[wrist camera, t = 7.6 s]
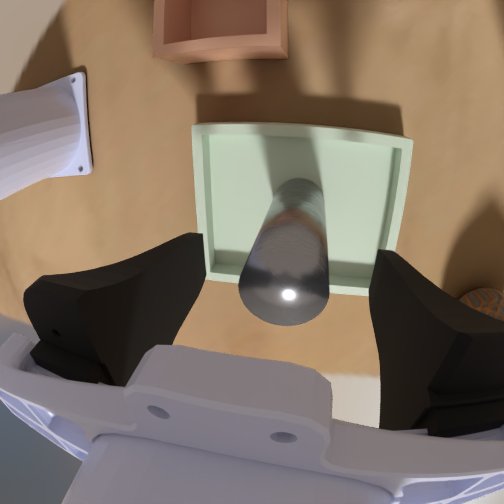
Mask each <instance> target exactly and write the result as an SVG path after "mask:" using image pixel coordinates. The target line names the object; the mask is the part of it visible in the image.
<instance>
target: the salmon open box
mask: <svg viewBox="0 0 504 504" xmlns="http://www.w3.org/2000/svg"><path fill="white" fill-rule="evenodd" d="M153 58H157V59H163V60H168V61H173V62H177V63H182V64H190V63H198V62H208V61H220V60H236V59H288V0H154V14H153Z"/></svg>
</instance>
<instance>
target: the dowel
mask: <svg viewBox="0 0 504 504" xmlns="http://www.w3.org/2000/svg"><path fill="white" fill-rule="evenodd" d="M238 286H239V294H240V297H241V299H242V301H243V303H244V305H245V306H246V307H247V308H248V310H249V311H250V312H251V313H253V314H254V315H255V316H257V317H258V318H260V319H262V320H263V321H266V322H268V323H271V324H275V325H281V326H293V325H299V324H303V323H306V322H308V321H310V320H312V319H313V318H315V317H316V316H317V315H319V314H320V313H321V312H322V310H323V309H324V308H325V306H326V304H327V302H328V299H329V293H330V289H329V262H328V243H327V227H326V213H325V201H324V196H323V193H322V191H321V189H320V188H319V187H318V186H317V185H316V184H315V183H314V182H312V181H310V180H308V179H304V178H293V179H290V180H287V181H285V182H284V183H283V184H282V185H280V187H279V188H278V189H277V191H276V193H275V196H274V198H273V200H272V203H271V205H270V207H269V210H268V212H267V214H266V217H265V219H264V221H263V224H262V226H261V228H260V230H259V233H258V235H257V237H256V240H255V242H254V244H253V247H252V249H251V251H250V254H249V256H248V258H247V261H246V263H245V265H244V268H243V270H242V272H241V274H240V278H239V284H238Z"/></svg>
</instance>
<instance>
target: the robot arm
mask: <svg viewBox="0 0 504 504" xmlns="http://www.w3.org/2000/svg"><path fill="white" fill-rule="evenodd" d="M74 79H76V80H75V82H74ZM81 166H82V167H83V170H82V168H81ZM92 169H93V166H92V159H91V150H90V141H89V131H88V118H87V103H86V76H85V73H84V72H77V73H74V74H71V75H69V76H66V77H63V78H60V79H58V80H55V81H53V82H50V83H48V84H45V85H43V86H41V87H38V88H36V89H31V90H24V91H18V92H12V93H7V94H2V95H0V200H2V199H4V198H6V197H8V196H10V195H12V194H13V193H15V192H17V191H19V190H21V189H23V188H25V187H27V186H30V185H32V184H34V183H36V182H38V181H40V180H42V179H44V178H50V177H61V176H72V175H86V174H89V173H91V172H92ZM206 275H207V274H206V264H205V252H204V241H203V234H202V233H186V234H183V235H181V236H178V237H176V238H174V239H172V240H170V241H168V242H166V243H163V244H161V245H159V246H157V247H155V248H153V249H150V250H148V251H146V252H144V253H141V254H139V255H137V256H134V257H132V258H129V259H126V260H123V261H121V262H118V263H114V264H111V265H107V266H103V267H99V268H96V269H91V270H86V271H81V272H75V273H67V274H56V275H43V276H41V277H40V278H39V279H37V280H36V281H35V282H34V283H33V284H32V285H31V286H29V287H28V288H27V289H26V290H25V292H24V297H23V302H24V306H25V310H26V312H27V315H28V317H29V319H30V321H31V323H32V325H33V327H34V329H35V330H36V332H37V334H38V336H39V338H40V339H41V340H40V341H39V342H38V343H37V344H36V345H35V344H34V343H33V342H32V341H31V340H30V339H28V338H26V337H24V336H22V335H20V334H18V333H13V334H12V335H11V336H10V338H9V339H8V340H7V341H6V342H5V343H4V344H3V345H2V346H1V347H0V399H1V400H2V402H3V403H4V404H5V405H6V406H7V407H8V408H9V409H10V411H11V412H12V413H13V414H15V415H16V416H17V417H19V418H20V419H21V420H23V421H24V422H26V423H27V424H28V425H29V426H31V427H32V428H34V429H35V430H36V431H38V432H39V433H40V434H42V435H43V436H45V437H46V438H48V439H49V440H51V441H52V442H53V443H55V444H56V445H58V446H59V447H61V448H62V449H64V450H65V451H67V452H68V453H70V454H72V455H73V456H75V457H77V458H78V459H80V460H82V461H83V463H82V465H81V467H80V469H79V471H78V473H77V475H76V477H75V479H74V481H73V482H72V485H71V486H70V488H69V490H68V492H67V494H66V496H65V498H64V500H63V502H62V504H463V503H466V502H468V501H472V500H475V499H477V498H480V497H483V496H486V495H488V494H491V493H494V492H497V491H499V490H502V489H504V321H502V320H499V319H496V318H493V317H491V316H489V315H486V314H484V313H482V312H479V311H477V310H475V309H473V308H471V307H469V306H468V305H466V304H464V303H462V302H460V301H458V300H457V299H455V298H453V297H452V296H450V295H449V294H447V293H446V292H444V291H443V290H441V289H440V288H439V287H437V286H436V285H435V284H433V283H432V282H431V281H429V280H428V279H427V278H426V277H424V276H423V275H422V274H421V273H419V272H418V271H417V270H416V269H415V268H414V267H412V266H411V265H410V264H409V263H408V262H407V261H405V260H404V259H403V258H402V257H401V256H399V255H398V254H397V253H395V252H394V251H392V250H384V249H378V251H377V256H376V261H375V265H374V270H373V274H372V278H371V282H370V286H369V290H368V293H369V306H370V314H371V319H372V324H373V328H374V333H375V338H376V343H377V348H378V353H379V361H380V381H381V403H380V423H379V428H374V427H369V426H364V425H359V424H354V423H349V422H345V421H341V420H337V419H332V389H331V383H330V382H329V381H328V380H327V379H326V378H325V377H323V376H322V375H321V374H320V373H318V372H317V371H316V370H315V369H312V368H309V367H305V366H301V365H298V364H294V363H291V362H284V361H275V360H267V359H259V358H252V357H245V356H238V355H232V354H226V353H220V352H214V351H208V350H203V349H197V348H192V347H187V346H182V345H172V344H173V341H174V339H175V337H176V335H177V333H178V331H179V329H180V327H181V325H182V324H183V322H184V320H185V318H186V317H187V315H188V313H189V311H190V310H191V308H192V306H193V304H194V303H195V301H196V299H197V297H198V295H199V294H200V291H201V289H202V286H203V284H204V281H205V278H206Z"/></svg>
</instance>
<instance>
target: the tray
mask: <svg viewBox="0 0 504 504" xmlns="http://www.w3.org/2000/svg"><path fill="white" fill-rule="evenodd" d="M412 148H413V139H410V138H408V137H406V136H402V135H396V134H390V133H384V132H377V131H370V130H362V129H354V128H346V127H336V126H325V125H313V124H298V123H277V122H206V123H199V124H194V125H192V149H193V168H194V184H195V199H196V212H197V225H198V233H202V234H203V241H204V252H205V264H206V274H207V275H206V278H205V279H207V280H215V281H223V282H231V283H239V278H240V274H241V272H242V270H243V268H244V265H245V263H246V261H247V258H248V256H249V254H250V251H251V249H252V247H253V244H254V242H255V240H256V237H257V235H258V233H259V230H260V228H261V226H262V224H263V221H264V219H265V217H266V214H267V212H268V210H269V207H270V205H271V203H272V200H273V198H274V196H275V193H276V191H277V189H278V188H279V187H280V185H282V184H283V183H284V182H285V181H287V180H290V179H293V178H304V179H308V180H310V181H312V182H314V183H315V184H316V185H317V186H318V187H319V188H320V189H321V191H322V193H323V196H324V201H325V213H326V227H327V243H328V262H329V289H330V293H338V294H349V295H361V296H369V293H368V290H369V286H370V282H371V278H372V274H373V270H374V265H375V261H376V256H377V251H378V249H384V250H392V251H394V252H395V248H396V244H397V239H398V235H399V230H400V225H401V220H402V215H403V210H404V204H405V198H406V192H407V186H408V179H409V172H410V165H411V157H412Z"/></svg>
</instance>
